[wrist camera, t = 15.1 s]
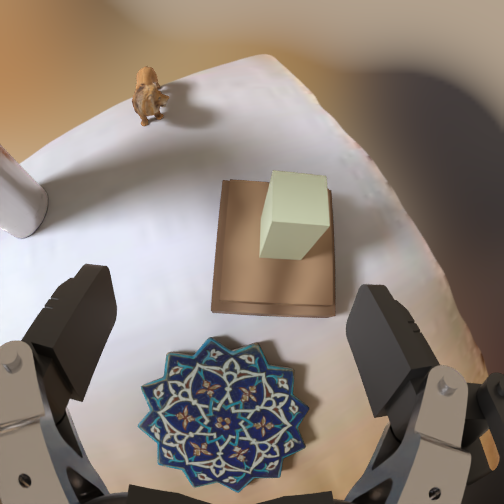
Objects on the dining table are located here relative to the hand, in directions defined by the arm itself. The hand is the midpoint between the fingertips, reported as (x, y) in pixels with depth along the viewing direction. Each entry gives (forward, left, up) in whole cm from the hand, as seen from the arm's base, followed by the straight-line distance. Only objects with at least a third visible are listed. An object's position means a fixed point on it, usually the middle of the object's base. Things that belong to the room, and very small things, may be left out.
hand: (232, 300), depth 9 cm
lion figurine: (-16, +33, -26) cm, 45 cm away
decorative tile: (0, -11, -27) cm, 29 cm away
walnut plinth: (+5, +10, -26) cm, 28 cm away
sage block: (+5, +10, -21) cm, 24 cm away
